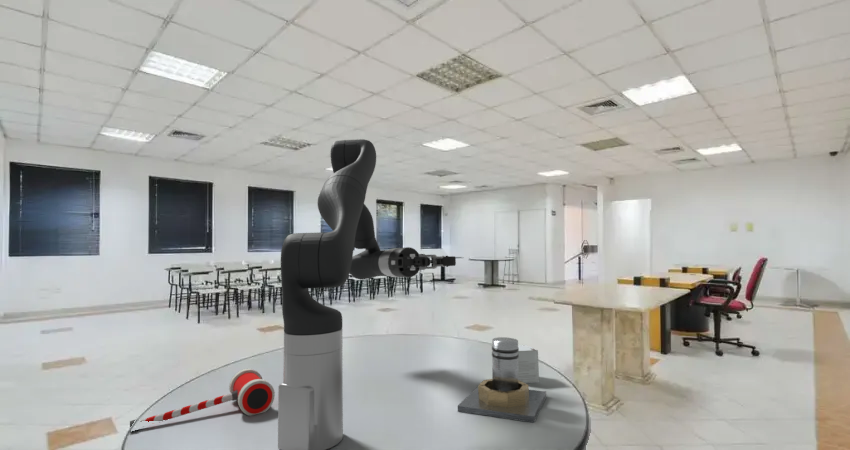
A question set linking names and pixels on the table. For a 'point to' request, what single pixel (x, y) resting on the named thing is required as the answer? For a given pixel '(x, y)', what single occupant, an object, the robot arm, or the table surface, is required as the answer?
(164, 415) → the toy hammer
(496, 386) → the piston
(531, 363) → the skincare box
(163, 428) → the table surface
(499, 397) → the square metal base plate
